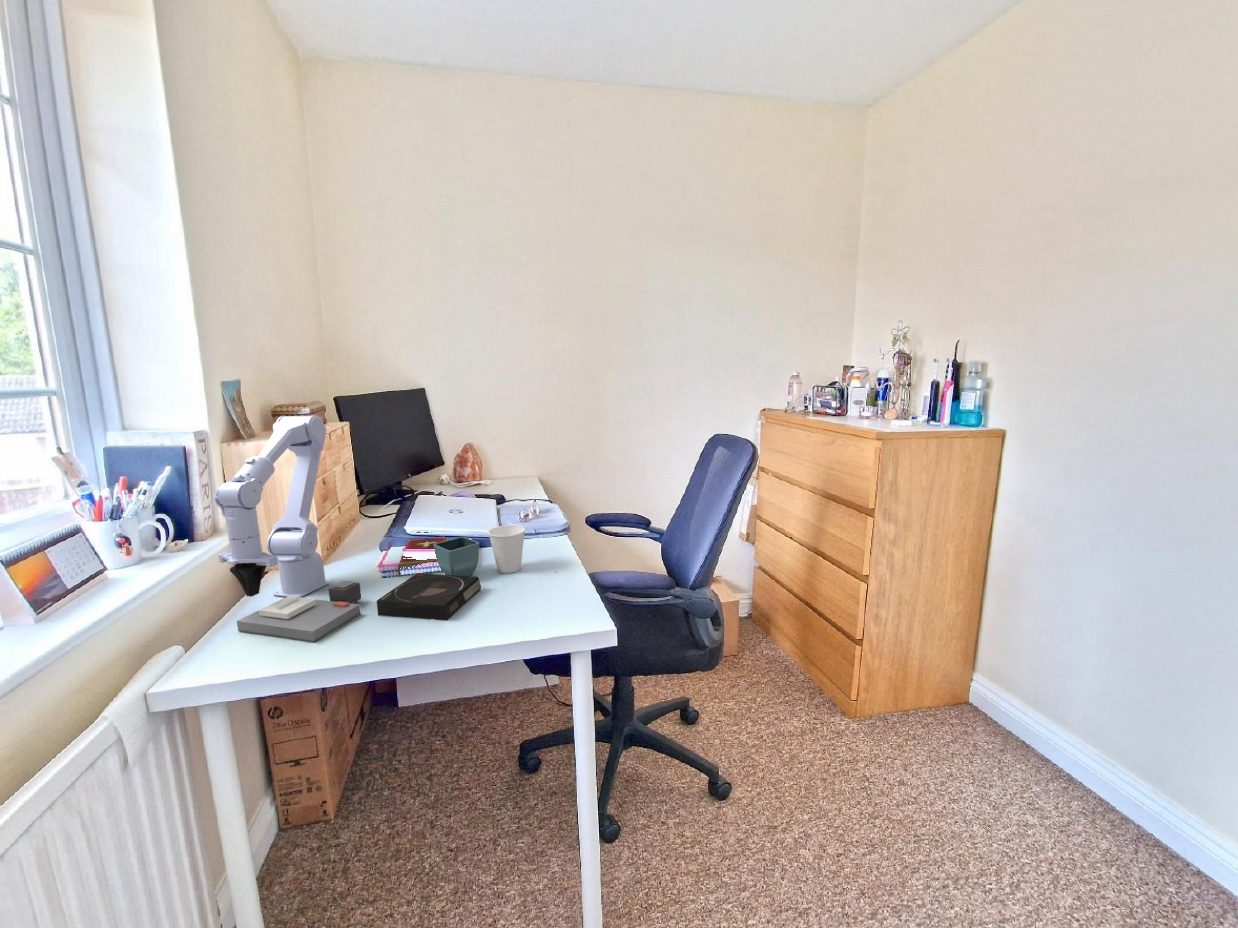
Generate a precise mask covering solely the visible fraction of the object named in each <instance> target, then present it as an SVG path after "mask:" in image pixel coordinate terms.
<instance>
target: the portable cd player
mask: <svg viewBox="0 0 1238 928" xmlns="http://www.w3.org/2000/svg"><path fill="white" fill-rule="evenodd" d="M481 590H482V585H481V582H480V577H479V576H475V575H474V576H473V575H471V576H459V575H445V574H440V573H439V574H438V573H417V574H413V575H411V577H409V578H408V579H406V580H405V581H404V582H402V583H400V584H399V585H397V586H396V587H395V588H393V589H392V590H390V591H388V592H387V593H386V594H384V595H383V596H380V597H379V598H378V599H377V600H376V608H377V616H379V617H392V618H406V619H408V618H409V619H420V620H431V619H434V620H433V621H448V620H449V619H451V617H452V616H453V615H455V614H456V613H457V612H458V611H459V610H460V609H461V608H462V607H464V605H466V604H468V602H469V601H470V600H471V599H472V598H474V596H475V595H477V594H478V593H479V592H480V591H481Z"/></svg>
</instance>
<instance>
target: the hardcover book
mask: <svg viewBox="0 0 1238 928" xmlns="http://www.w3.org/2000/svg"><path fill="white" fill-rule="evenodd" d="M433 538H434V537H433ZM421 539H422V540H421ZM448 540H449V539H448V538H434V539H424V538H414V539H413V538H412V539H408V540H407V541H406V544H405V547H404V549H434V544H436V543H440V542H444V541H448ZM403 558H406V559H403ZM407 558H412V557H405V556H402V555H401V557H400V559H401V560H400V559H399V562H398V565H397V574H398V577H402V576H401V575H400V574H401V573H400V568H401V570H402V569H403V567H404V569H408V567H410V568H411V569H412V566H414V565H415V567H416V566H417V565H418V564H419V565H421V564H422V563H427V562H436V561H437V559H427V560H416V559H407ZM420 563H421V564H420ZM405 567H406V568H405ZM415 567H414V569H415Z"/></svg>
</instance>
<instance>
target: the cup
mask: <svg viewBox="0 0 1238 928" xmlns="http://www.w3.org/2000/svg"><path fill="white" fill-rule="evenodd" d="M526 530H527V529H526V527H525V526H522V525H517V524H516V525H515V524H510V525H509V524H508V525H507V524H506V525H499V526H495V527H493V528H490V529H489V530H487V534H488V537H489V541H490V545H491V549H492V552H493V556H494V560H495V565H496V569H497V571H498V572H499V573H501V574H513V572H514V573H516V572H518V571H520V569H521V568H522V559H523V558H522V557H523V548H524V542H525V541H524V540H525V534H526V533H525V532H526Z"/></svg>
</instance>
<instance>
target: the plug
mask: <svg viewBox="0 0 1238 928" xmlns="http://www.w3.org/2000/svg"><path fill="white" fill-rule="evenodd" d="M328 595H329V601H334V602H338V601H340V602H348V603H351V604H356V602H358V601H360V600H361V599H362V593H361V583H360V582H358V581H357V582H356V581H348V580H342V581H340V582H339V583H336V584H335V585H333V586H330V587H329V588H328Z"/></svg>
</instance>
